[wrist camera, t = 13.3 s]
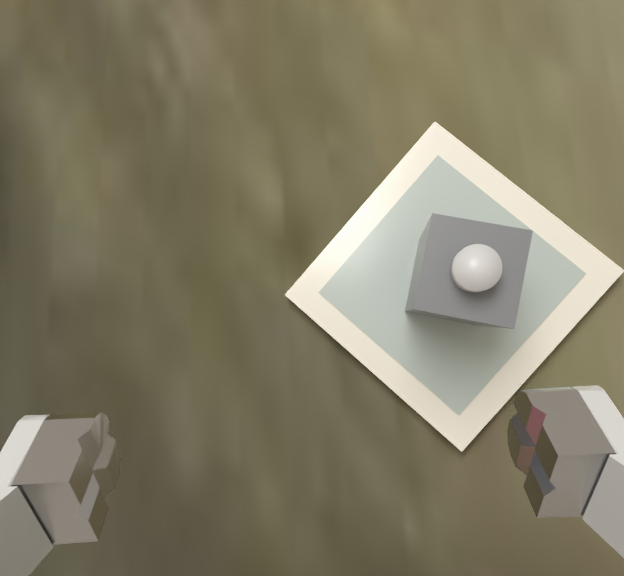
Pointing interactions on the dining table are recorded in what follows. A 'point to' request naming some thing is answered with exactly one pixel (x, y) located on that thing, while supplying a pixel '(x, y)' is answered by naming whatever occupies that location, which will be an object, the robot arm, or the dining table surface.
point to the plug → (469, 271)
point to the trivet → (436, 331)
